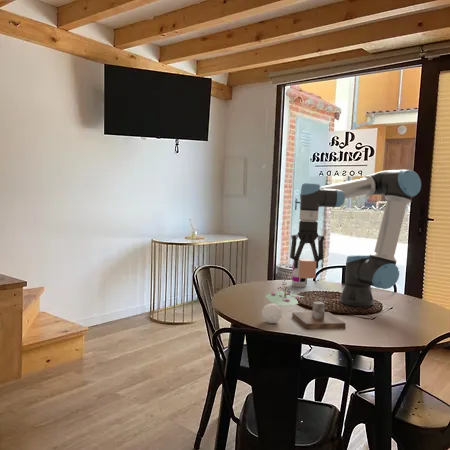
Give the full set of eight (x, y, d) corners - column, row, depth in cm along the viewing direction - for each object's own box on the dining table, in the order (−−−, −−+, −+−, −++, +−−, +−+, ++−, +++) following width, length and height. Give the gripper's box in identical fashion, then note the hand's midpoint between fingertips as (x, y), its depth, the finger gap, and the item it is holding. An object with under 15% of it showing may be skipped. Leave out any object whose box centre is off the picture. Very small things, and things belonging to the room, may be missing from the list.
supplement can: (291, 286, 244) (293, 259, 243) (292, 283, 252) (293, 257, 251) (306, 287, 243) (308, 260, 242) (306, 284, 251) (307, 258, 250)
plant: (309, 308, 202) (310, 288, 201) (263, 305, 204) (264, 286, 203) (304, 295, 227) (305, 278, 226) (263, 293, 228) (264, 276, 228)
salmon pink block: (310, 275, 188) (311, 258, 187) (315, 278, 182) (316, 261, 181) (295, 275, 187) (296, 258, 187) (300, 278, 181) (301, 260, 180)
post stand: (328, 316, 187) (329, 297, 187) (345, 328, 172) (346, 307, 171) (292, 317, 184) (293, 298, 184) (306, 329, 169) (307, 308, 168)
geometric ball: (270, 330, 174) (263, 317, 170) (263, 318, 181) (256, 304, 177) (287, 321, 174) (280, 307, 170) (280, 309, 181) (273, 296, 177)
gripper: (288, 220, 178) (285, 277, 179) (334, 222, 180) (331, 278, 182) (283, 219, 185) (280, 274, 187) (327, 220, 188) (324, 274, 189)
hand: (305, 276), depth 184 cm, fingers closed on salmon pink block, 6 cm apart
